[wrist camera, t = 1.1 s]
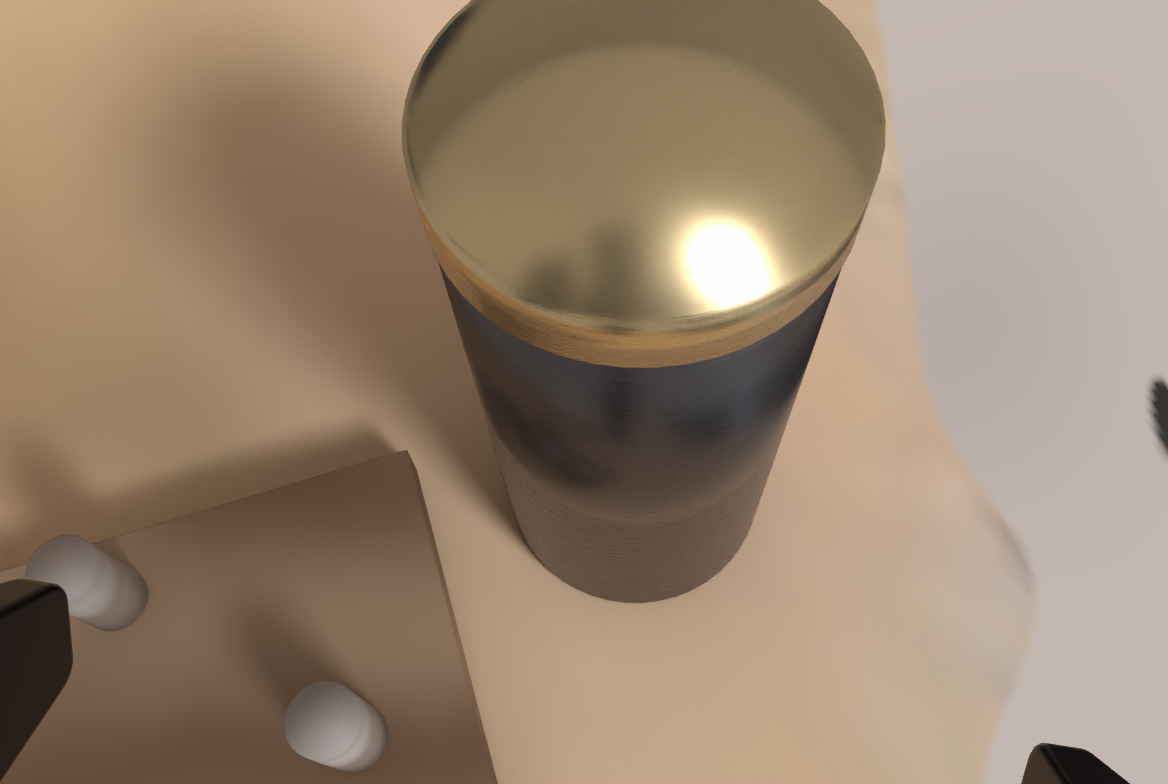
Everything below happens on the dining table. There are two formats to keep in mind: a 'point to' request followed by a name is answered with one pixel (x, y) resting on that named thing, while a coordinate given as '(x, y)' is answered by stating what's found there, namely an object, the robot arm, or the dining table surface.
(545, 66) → the tea tin
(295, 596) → the peg board
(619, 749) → the dining table surface
